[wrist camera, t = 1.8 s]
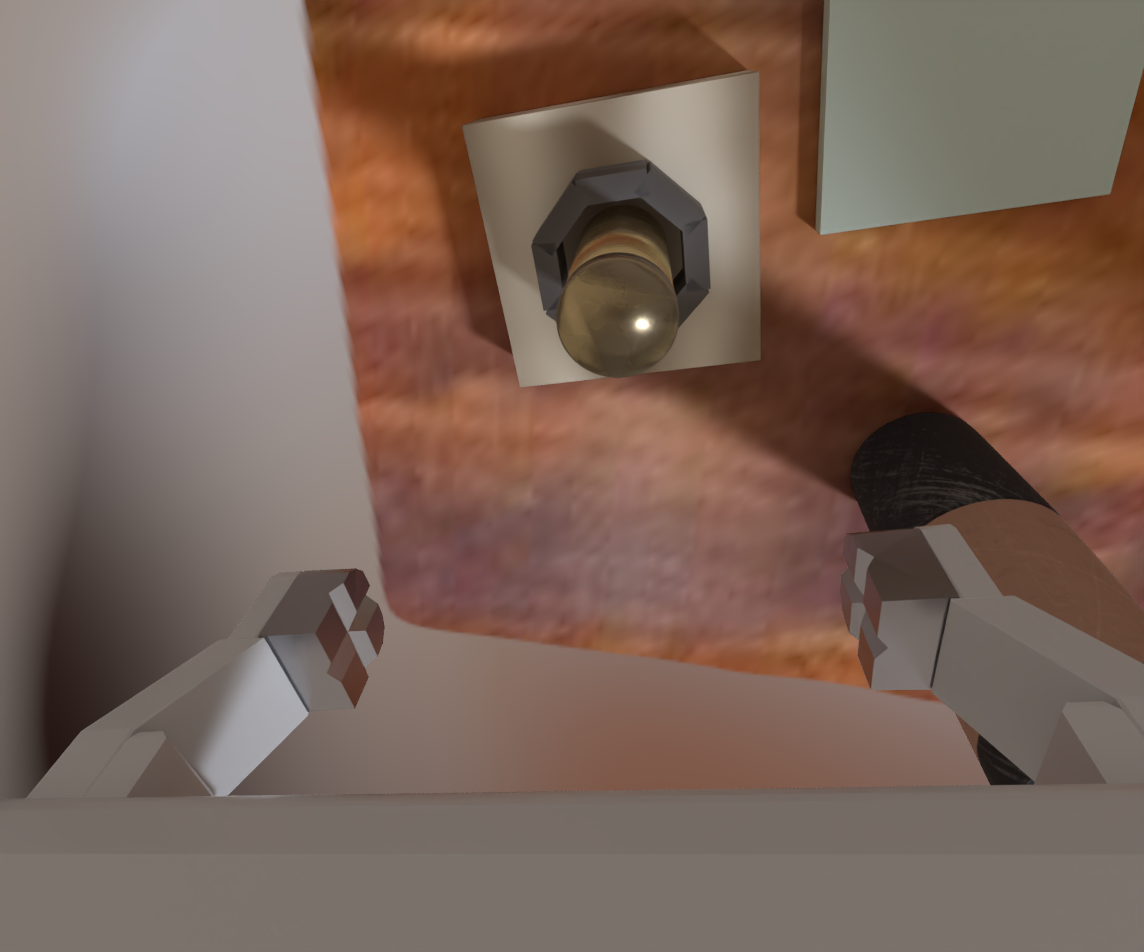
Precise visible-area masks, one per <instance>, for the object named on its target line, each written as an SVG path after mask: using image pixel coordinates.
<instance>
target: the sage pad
mask: <svg viewBox="0 0 1144 952" xmlns="http://www.w3.org/2000/svg"><path fill="white" fill-rule="evenodd" d="M1143 68H1144V0H824V15H823V41H822V68H821V94H820V120H819V146H818V173H817V199H816V225H815V230H816V231H817V232H818V233H819V234H820V235H824V234H831V233H838V232H845V231H852V230H859V229H866V228H873V227H881V226H888V225H895V224H902V223H909V222H916V221H923V220H930V219H937V218H945V217H952V216H959V215H966V214H973V213H980V212H987V211H994V210H1001V209H1008V208H1016V207H1023V206H1030V205H1037V204H1044V203H1051V202H1058V201H1065V200H1072V199H1079V198H1087V197H1094V196H1101V195H1108V194H1110V193H1111V189H1112V185H1113V182H1114V178H1115V174H1116V170H1117V166H1118V163H1119V159H1120V155H1121V151H1122V148H1123V144H1124V140H1125V136H1126V132H1127V129H1128V125H1129V121H1130V117H1131V113H1132V110H1133V106H1134V102H1135V98H1136V95H1137V91H1138V87H1139V83H1140V79H1141V76H1142V72H1143Z"/></svg>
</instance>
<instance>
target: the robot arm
mask: <svg viewBox="0 0 1144 952" xmlns="http://www.w3.org/2000/svg"><path fill="white" fill-rule="evenodd" d="M843 555H844V558H845V560H846V563H847V565H848V568H847V569H846V570H845V571H844V572H843V573H842V574H841V586H840V594H841V604H842V610H843V615H844V619H845V622H846V625H847V628H848V631H849V633H850V634H851V635H853V636H854V637H855V638H857V639H858V640H859V646H858V658H859V660H860V663H861V666H862V668H863V671H864V674H865V676H866V679H867V681H868V684H869V687H870V689H871V690H932V691H931V692H932V693H933V694H934V695H935V696H936V697H937V698H939V699H940V700H941V701H942V702H943V703H944V704H946V705H947V706H948V707H949V708H950V709H952V711H954V712H955V713H956V714H957V715H958V716H959V717H961V718H962V719H963V720H964V721H965V722H966V723H967V724H969V725H970V726H971V727H972V728H973V729H974V730H976V731H977V732H978V733H979V734H980V735H981V736H982V737H984V738H985V739H986V740H987V741H988V742H989V743H991V744H992V745H993V746H994V747H995V748H996V749H997V750H999V751H1000V752H1001V753H1002V754H1003V755H1004V756H1005V757H1007V758H1008V759H1009V760H1010V761H1011V762H1012V763H1014V764H1015V765H1016V766H1017V767H1018V768H1019V769H1020V770H1022V771H1023V772H1024V773H1025V774H1026V775H1027V776H1029V777H1030V778H1031V779H1032V780H1033V781H1034V782H1035V783H1034V785H977V786H904V787H902V786H901V787H829V788H760V789H686V790H618V791H616V790H615V791H550V792H549V791H547V792H546V791H545V792H472V793H401V794H333V795H332V794H328V795H264V796H263V795H257V796H227V795H228V794H229V793H230V792H231V791H232V790H234V788H235V787H237V786H238V785H239V783H241V781H242V780H243V779H245V777H247V775H249V774H250V773H251V772H252V770H254V768H255V767H256V766H257V765H259V764H260V763H261V761H263V760H264V759H265V758H266V757H267V756H268V755H269V753H271V752H272V751H273V750H274V749H275V748H276V747H277V746H278V745H279V744H280V743H281V742H282V741H283V740H284V739H285V738H286V737H287V736H288V735H289V734H290V733H291V731H293V730H294V729H295V727H297V726H298V725H299V724H300V722H302V721H303V719H305V718H306V717H307V716H308V712H313V711H328V710H342V709H355V707H356V705H357V703H358V700H359V698H360V695H361V693H362V691H363V689H364V686H365V684H366V682H367V680H368V674H367V672H366V669H365V666H367V665H368V664H369V663H370V662H371V661H373V659H375V658H376V657H377V656H378V654H379V651H380V649H381V646H382V644H383V635H384V621H383V616H382V613H381V610H380V608H379V606H378V604H377V603H376V602H374V601H373V600H372V599H370V598H369V597H367V596H366V593H367V591H368V588H369V586H370V585H369V583H368V581H367V579H366V577H365V575H364V573H363V571H361V570H358V569H356V568H355V569H334V570H313V571H304V572H283V573H278V574H276V575H274V576H272V577H271V579H270V580H269V582H268V583H267V584H266V586H265V587H264V589H263V590H262V591H261V593H260V594H259V595H258V597H257V598H256V600H255V601H254V603H253V604H252V605H251V607H250V608H249V610H248V611H247V613H246V614H245V615H244V617H243V618H242V620H241V621H240V622H239V624H238V625H237V627H236V628H235V630H234V631H233V632H232V634H231V635H230V637H229V638H228V639H227V640H219V641H217V642H216V643H214V644H213V645H211V646H209V647H208V648H207V649H205V650H203V651H202V652H200V653H199V654H198V655H196V656H194V657H193V658H191V659H190V660H188V661H187V662H185V663H184V664H182V665H181V666H179V667H178V668H176V669H175V670H173V671H172V672H170V673H169V674H167V675H166V676H164V677H163V678H161V679H160V680H158V681H157V682H155V683H154V684H152V685H150V686H149V687H147V688H146V689H144V690H143V691H141V692H140V693H138V694H137V695H135V696H134V697H132V698H131V699H129V700H128V701H127V702H125V703H123V704H122V705H120V706H119V707H118V708H116V709H114V710H113V711H111V712H110V713H108V714H107V715H105V716H104V717H102V718H101V719H99V720H98V721H96V722H95V723H93V724H92V725H90V726H89V727H87V728H85V729H84V730H82V731H81V732H80V733H79V735H78V736H77V737H76V738H75V739H74V741H73V742H72V743H71V744H70V746H69V747H68V748H67V749H66V750H65V752H64V753H63V754H62V755H61V757H60V758H59V759H58V760H57V761H56V763H55V764H54V765H53V766H52V767H51V769H50V770H49V771H48V772H47V774H46V775H45V776H44V777H43V778H42V780H41V781H40V782H39V783H38V784H37V786H36V787H35V788H34V789H33V791H32V792H31V793H30V794H29V795H28V797H27V798H26V799H0V952H1144V664H1143V663H1141V662H1139V661H1137V660H1135V659H1133V658H1131V657H1130V656H1128V655H1126V654H1124V653H1122V652H1120V651H1118V650H1116V649H1114V648H1112V647H1111V646H1109V645H1107V644H1105V643H1103V642H1101V641H1099V640H1097V639H1095V638H1094V637H1092V636H1090V635H1088V634H1086V633H1084V632H1082V631H1080V630H1078V629H1076V628H1075V627H1073V626H1071V625H1069V624H1067V623H1065V622H1063V621H1061V620H1059V619H1058V618H1056V617H1054V616H1052V615H1050V614H1048V613H1046V612H1044V611H1042V610H1041V609H1039V608H1037V607H1035V606H1033V605H1031V604H1029V603H1027V602H1025V601H1023V600H1022V599H1020V598H1018V597H1016V596H1003V595H1002V594H1001V592H1000V591H999V589H998V588H997V586H996V585H995V583H994V582H993V581H992V579H991V578H990V576H989V575H988V573H987V572H986V570H985V569H984V568H983V566H982V565H981V563H980V562H979V560H978V559H977V557H976V556H975V555H974V553H973V552H972V550H971V549H970V547H969V546H968V544H967V543H966V542H965V540H964V539H963V537H962V536H961V534H960V533H959V531H958V530H957V529H956V527H954V526H952V525H951V524H942V525H932V526H921V527H915V528H908V529H895V530H882V531H869V532H856V533H846V536H845V539H844V545H843Z"/></svg>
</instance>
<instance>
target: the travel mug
mask: <svg viewBox="0 0 1144 952" xmlns="http://www.w3.org/2000/svg"><path fill="white" fill-rule="evenodd" d="M851 484H852V488H853V491H854V494H855V497H856V499H857V502H858V504H859V507H860V509H861V512H862V514H863V516H864V519H865V521H866V523H867V526H868V528H869V530H870V531H882V530H895V529H908V528H915V527H921V526H932V525H942V524H951V525H952V526H954V527H956V529H957V530H958V531H959V533H960V534H961V536H962V537H963V539H964V540H965V542H966V543H967V544H968V546H969V547H970V549H971V550H972V552H973V553H974V555H975V556H976V557H977V559H978V560H979V562H980V563H981V565H982V566H983V568H984V569H985V570H986V572H987V573H988V575H989V576H990V578H991V579H992V581H993V582H994V583H995V585H996V586H997V588H998V589H999V591H1000V592H1001V594H1002V595H1003V596H1016V597H1018V598H1020V599H1022V600H1023V601H1025V602H1027V603H1029V604H1031V605H1033V606H1035V607H1037V608H1039V609H1041V610H1042V611H1044V612H1046V613H1048V614H1050V615H1052V616H1054V617H1056V618H1058V619H1059V620H1061V621H1063V622H1065V623H1067V624H1069V625H1071V626H1073V627H1075V628H1076V629H1078V630H1080V631H1082V632H1084V633H1086V634H1088V635H1090V636H1092V637H1094V638H1095V639H1097V640H1099V641H1101V642H1103V643H1105V644H1107V645H1109V646H1111V647H1112V648H1114V649H1116V650H1118V651H1120V652H1122V653H1124V654H1126V655H1128V656H1130V657H1131V658H1133V659H1135V660H1137V661H1139V662H1141V663H1143V664H1144V609H1143V608H1142V607H1141V606H1140V605H1139V603H1138V602H1137V601H1136V600H1135V599H1134V598H1133V597H1132V596H1131V594H1130V593H1129V592H1128V591H1127V590H1126V589H1125V588H1124V587H1123V585H1122V584H1121V583H1120V582H1119V581H1118V580H1117V579H1116V578H1115V576H1114V575H1113V574H1112V573H1111V572H1110V571H1109V570H1108V568H1107V567H1106V566H1105V565H1104V564H1103V563H1102V562H1101V561H1100V559H1099V558H1098V557H1097V556H1096V555H1095V554H1094V553H1093V552H1092V550H1091V549H1090V548H1089V547H1088V546H1087V545H1086V544H1085V543H1084V541H1083V540H1082V539H1081V538H1080V537H1079V536H1078V535H1077V534H1076V532H1075V531H1074V530H1073V529H1072V528H1071V527H1070V526H1069V524H1068V523H1067V522H1066V521H1065V520H1064V519H1063V518H1062V517H1061V516H1060V515H1059V514H1058V513H1057V512H1056V511H1055V510H1054V509H1053V508H1052V507H1051V506H1050V505H1049V504H1048V503H1047V502H1046V501H1045V500H1044V499H1043V498H1042V497H1041V496H1040V495H1039V494H1038V493H1037V492H1036V491H1035V490H1034V489H1033V488H1032V487H1031V486H1030V485H1029V484H1028V483H1027V482H1026V481H1025V480H1024V479H1023V478H1022V477H1021V475H1020V474H1019V473H1018V472H1017V471H1016V470H1015V469H1014V468H1013V467H1012V466H1011V465H1010V464H1009V463H1008V462H1007V461H1006V460H1005V459H1004V458H1003V457H1002V456H1001V455H1000V454H999V453H998V452H997V451H996V450H995V449H994V448H993V447H992V446H991V445H990V444H989V443H988V442H987V441H986V440H985V439H984V438H983V437H982V436H981V435H980V434H979V433H978V432H977V431H976V430H975V429H973V428H972V427H971V426H970V425H968V424H967V423H966V422H964V421H962V420H960V419H958V418H956V417H953V416H950V415H946V414H941V413H919V414H913V415H909V416H905V417H902V418H899V419H897V420H894V421H892V422H890V423H888V424H886V425H885V426H883V427H881V428H880V429H879V430H877V431H876V432H874V433H873V434H872V435H871V436H870V437H869V438H868V439H867V440H866V441H865V442H864V443H863V445H862V446H861V447H860V449H859V450H858V452H857V454H856V456H855V458H854V461H853V464H852V468H851ZM955 714H956V713H955ZM956 716H957V717H958V720H959V722H960V724H961V726H962V728H963V730H964V732H965V734H966V736H967V738H968V740H969V742H970V744H971V746H972V748H973V750H974V752H975V754H976V756H977V758H978V760H979V762H980V764H981V766H982V768H983V770H984V773H985V775H986V777H987V778H988V781H989V783H990V785H1034V783H1035V782H1034V781H1033V780H1032V779H1031V778H1030V777H1029V776H1027V775H1026V774H1025V773H1024V772H1023V771H1022V770H1020V769H1019V768H1018V767H1017V766H1016V765H1015V764H1014V763H1012V762H1011V761H1010V760H1009V759H1008V758H1007V757H1005V756H1004V755H1003V754H1002V753H1001V752H1000V751H999V750H997V749H996V748H995V747H994V746H993V745H992V744H991V743H989V742H988V741H987V740H986V739H985V738H984V737H982V736H981V735H980V734H979V733H978V732H977V731H976V730H974V729H973V728H972V727H971V726H970V725H969V724H967V723H966V722H965V721H964V720H963V719H962V718H961V717H959V716H958V715H957V714H956Z"/></svg>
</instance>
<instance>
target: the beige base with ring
mask: <svg viewBox="0 0 1144 952" xmlns="http://www.w3.org/2000/svg"><path fill="white" fill-rule="evenodd" d="M462 129H463V133H464V138H465V142H466V146H467V151H468V155H469V160H470V164H471V169H472V173H473V178H474V182H475V187H476V191H477V196H478V200H479V205H480V209H481V214H482V218H483V223H484V227H485V231H486V236H487V240H488V245H489V249H490V254H491V258H492V263H493V267H494V272H495V276H496V281H497V285H498V290H499V294H500V299H501V303H502V308H503V312H504V317H505V321H506V325H507V330H508V334H509V339H510V343H511V348H512V352H513V357H514V361H515V366H516V370H517V375H518V379H519V384H520V387H527V386H536V385H545V384H554V383H563V382H572V381H581V380H589V379H598V378H607V377H605V376H600V375H597V374H594V373H592V372H590V371H588V370H586V369H584V368H583V367H581V366H580V365H579V364H577V363H576V362H575V361H574V360H573V359H572V358H571V357H570V356H569V354H568V353H567V352H566V350H565V349H564V347H563V345H562V343H561V341H560V338H559V335H558V331H557V325H556V312H557V306H558V302H559V299H560V296H561V293H562V290H563V288H564V286H565V284H566V282H567V279H568V276H569V272H570V269H571V266H572V263H573V260H574V257H575V253H576V250H577V247H578V244H579V241H580V238H581V235H582V232H583V230H584V228H585V227H586V225H587V223H588V222H589V221H590V220H591V219H592V218H593V217H594V216H595V215H596V214H597V213H599V212H600V211H602V210H604V209H606V208H608V207H611V206H615V205H632V206H637V207H639V208H642V209H644V210H646V211H647V212H649V213H650V214H651V215H653V216H654V217H655V218H656V219H657V221H658V222H659V223H660V225H661V227H662V228H663V230H664V233H665V236H666V239H667V246H668V253H669V259H670V266H671V273H672V280H673V286H674V290H675V294H676V297H677V303H678V310H679V326H678V331H677V335H676V338H675V340H674V343H673V345H672V346H671V348H670V350H669V351H668V353H667V354H666V355H665V356H664V358H663V359H662V360H661V361H660V362H658V363H657V364H656V365H655V366H653V367H652V368H650V369H648V370H647V371H645V372H642V373H640V374H643V373H652V372H660V371H669V370H678V369H687V368H696V367H705V366H714V365H722V364H731V363H740V362H749V361H758V360H761V322H760V147H759V72H757V71H751V70H745V71H740V72H735V73H729V74H724V75H718V76H713V77H707V78H702V79H696V80H691V81H685V82H680V83H674V84H669V85H663V86H658V87H652V88H647V89H642V90H636V91H631V92H625V93H620V94H614V95H609V96H603V97H598V98H592V99H587V100H581V101H576V102H570V103H565V104H560V105H554V106H549V107H543V108H538V109H532V110H527V111H521V112H516V113H510V114H505V115H499V116H494V117H488V118H483V119H477V120H475V121H472V122H470V123H468V124H465V125H463V126H462Z"/></svg>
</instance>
